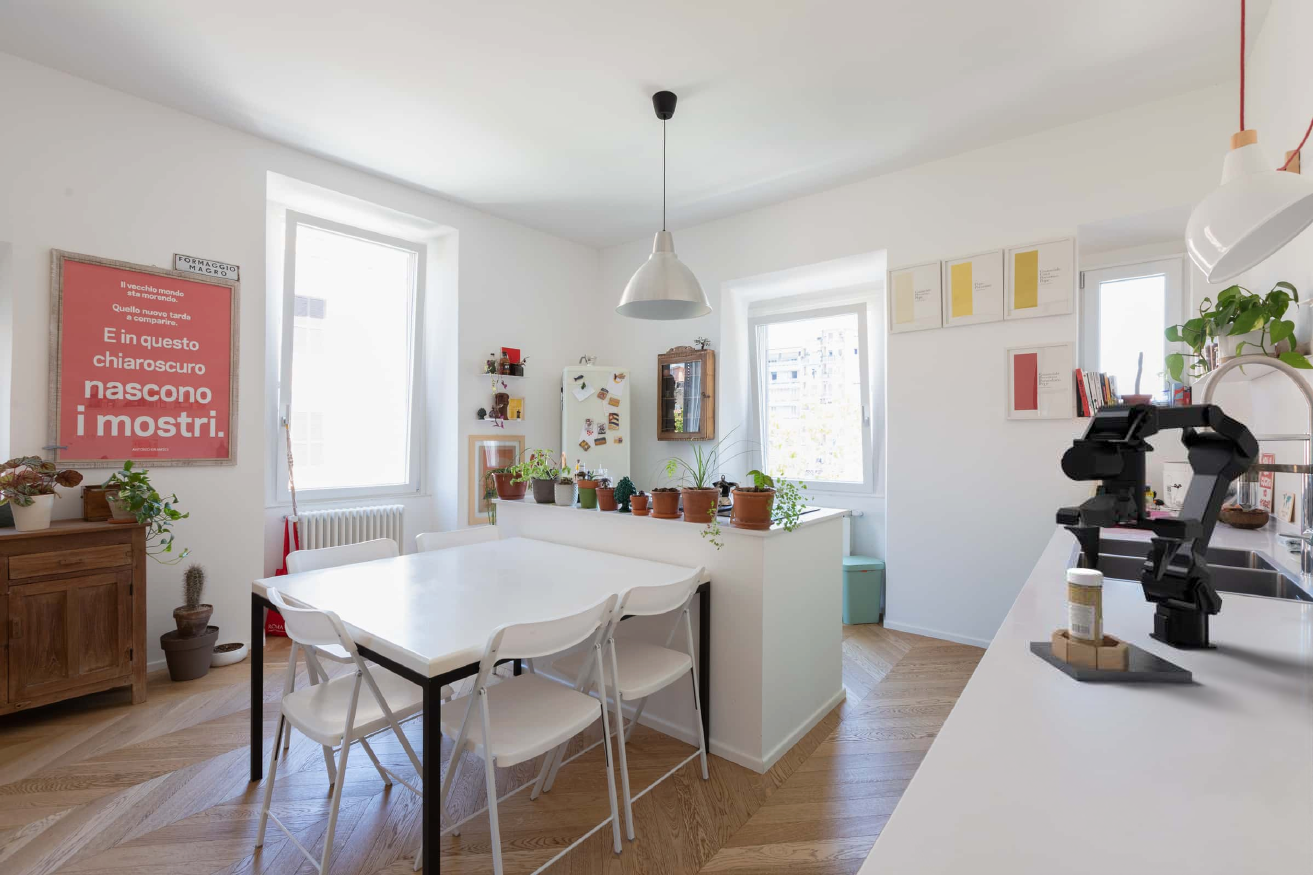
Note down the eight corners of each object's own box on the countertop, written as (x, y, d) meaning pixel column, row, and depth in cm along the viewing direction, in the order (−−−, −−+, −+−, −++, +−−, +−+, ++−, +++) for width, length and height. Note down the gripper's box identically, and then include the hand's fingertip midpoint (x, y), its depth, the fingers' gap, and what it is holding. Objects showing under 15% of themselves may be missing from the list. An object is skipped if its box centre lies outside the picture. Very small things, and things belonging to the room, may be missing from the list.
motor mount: (1130, 652, 97) (1130, 625, 97) (1192, 682, 85) (1192, 651, 85) (1030, 650, 98) (1029, 623, 98) (1076, 680, 86) (1076, 649, 86)
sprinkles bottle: (1111, 660, 90) (1110, 572, 90) (1089, 663, 88) (1088, 574, 88) (1082, 649, 94) (1081, 566, 94) (1060, 652, 93) (1059, 568, 93)
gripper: (1035, 477, 102) (1035, 567, 102) (1164, 485, 85) (1164, 593, 85) (1074, 475, 106) (1075, 561, 106) (1204, 482, 89) (1205, 584, 89)
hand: (1123, 573), depth 97 cm, fingers open, 9 cm apart
